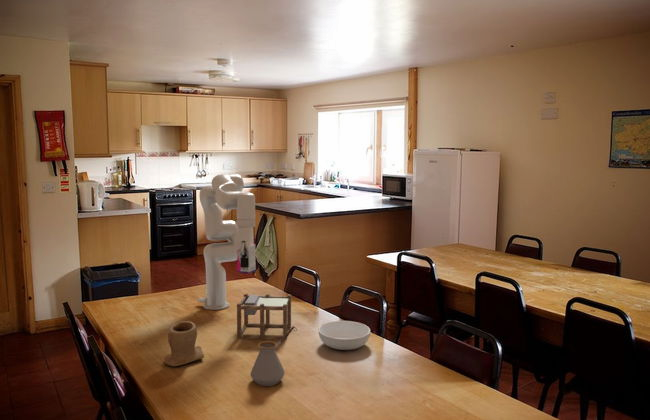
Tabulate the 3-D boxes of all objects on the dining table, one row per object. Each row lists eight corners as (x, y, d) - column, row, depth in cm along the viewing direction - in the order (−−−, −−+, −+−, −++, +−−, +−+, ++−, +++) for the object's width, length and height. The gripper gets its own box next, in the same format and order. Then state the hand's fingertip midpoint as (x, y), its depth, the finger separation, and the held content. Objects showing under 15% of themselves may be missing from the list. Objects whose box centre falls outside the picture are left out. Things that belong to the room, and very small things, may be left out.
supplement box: (256, 270, 224) (255, 243, 223) (249, 273, 218) (249, 246, 217) (244, 269, 226) (243, 242, 225) (236, 272, 220) (236, 245, 219)
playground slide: (244, 315, 220) (244, 302, 220) (250, 306, 233) (250, 294, 232) (285, 316, 220) (285, 303, 219) (288, 306, 232) (288, 295, 232)
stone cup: (173, 372, 187) (172, 331, 185) (159, 361, 196) (158, 322, 194) (212, 361, 196) (211, 322, 194) (197, 352, 205) (196, 314, 203)
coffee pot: (270, 391, 172) (269, 347, 171) (243, 383, 179) (242, 340, 177) (307, 369, 190) (308, 328, 188) (282, 361, 196) (282, 322, 194)
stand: (237, 338, 220) (236, 304, 218) (244, 325, 236) (244, 293, 234) (286, 339, 219) (286, 305, 217) (291, 326, 235) (291, 294, 233)
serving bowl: (309, 351, 207) (309, 333, 206) (329, 333, 226) (329, 318, 226) (360, 359, 199) (360, 341, 199) (376, 340, 219) (376, 324, 218)
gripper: (242, 220, 229) (242, 260, 231) (231, 225, 212) (232, 269, 214) (259, 220, 228) (259, 261, 230) (250, 226, 211) (250, 270, 213)
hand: (246, 264), depth 222 cm, fingers closed on supplement box, 6 cm apart
